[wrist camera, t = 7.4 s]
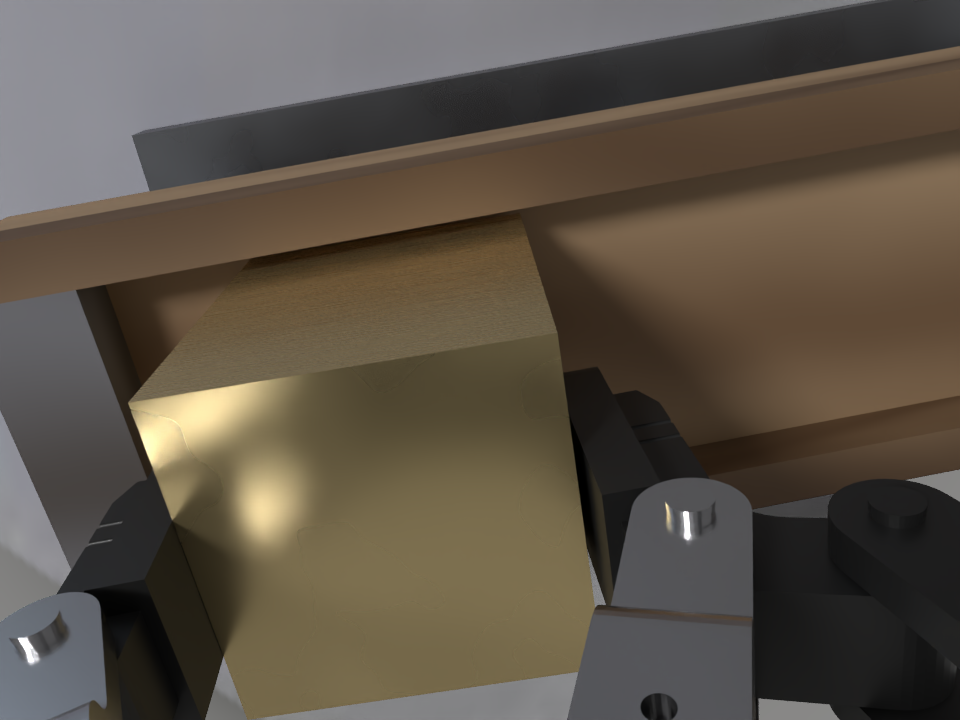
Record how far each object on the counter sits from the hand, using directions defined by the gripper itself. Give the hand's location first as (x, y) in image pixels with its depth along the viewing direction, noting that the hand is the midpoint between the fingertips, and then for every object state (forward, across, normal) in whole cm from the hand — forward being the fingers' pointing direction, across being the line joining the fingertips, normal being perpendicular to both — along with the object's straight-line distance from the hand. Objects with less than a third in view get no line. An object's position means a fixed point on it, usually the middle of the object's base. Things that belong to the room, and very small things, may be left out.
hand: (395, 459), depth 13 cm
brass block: (+3, 0, 0) cm, 3 cm away
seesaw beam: (+5, -8, 0) cm, 10 cm away
